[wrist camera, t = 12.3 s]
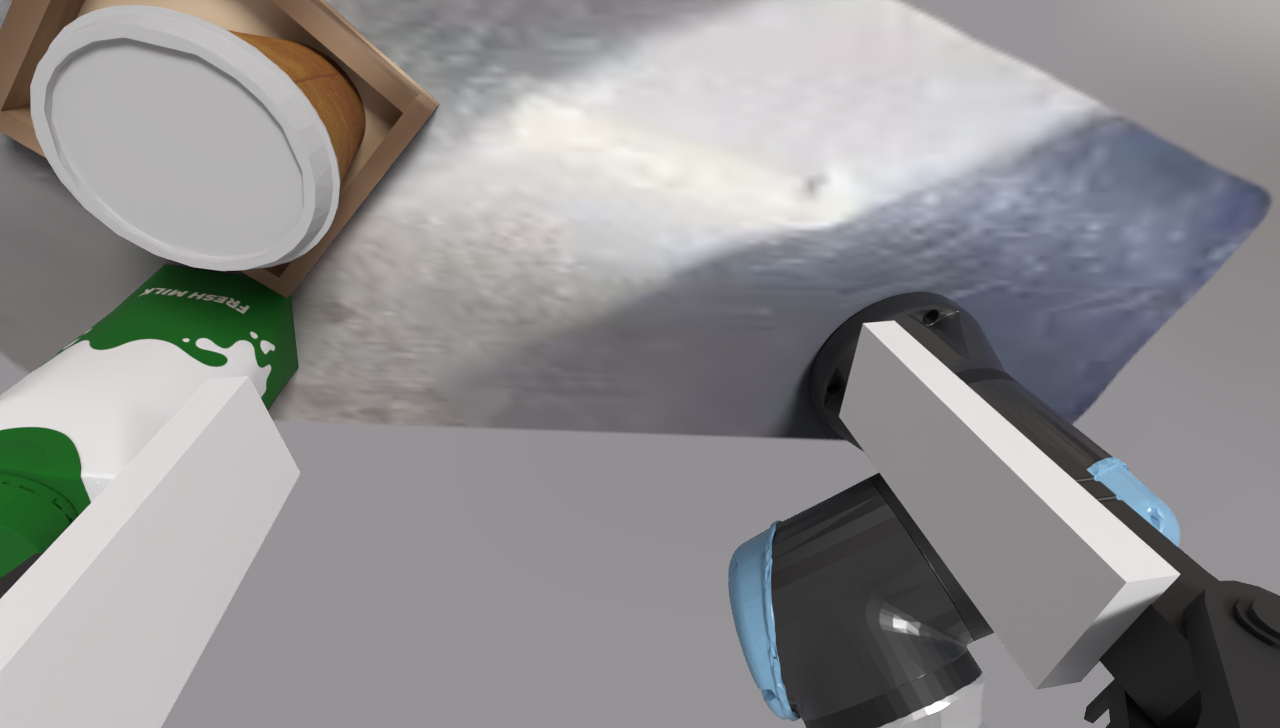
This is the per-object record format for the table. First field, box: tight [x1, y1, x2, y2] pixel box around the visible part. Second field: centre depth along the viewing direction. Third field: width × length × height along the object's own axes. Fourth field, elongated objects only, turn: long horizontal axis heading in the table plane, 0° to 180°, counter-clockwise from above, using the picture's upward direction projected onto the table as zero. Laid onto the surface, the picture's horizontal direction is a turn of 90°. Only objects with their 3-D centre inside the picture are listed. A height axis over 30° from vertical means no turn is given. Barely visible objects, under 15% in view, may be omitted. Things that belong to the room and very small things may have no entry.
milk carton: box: [0, 265, 298, 578], centre depth 28 cm, size 9×9×20 cm
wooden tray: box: [0, 0, 439, 298], centre depth 28 cm, size 15×15×3 cm
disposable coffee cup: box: [30, 5, 366, 271], centre depth 24 cm, size 10×10×12 cm
